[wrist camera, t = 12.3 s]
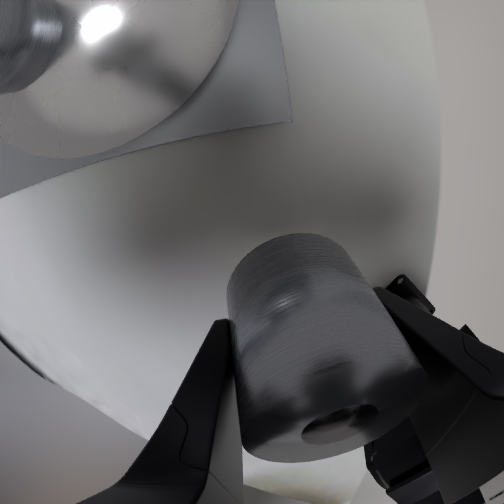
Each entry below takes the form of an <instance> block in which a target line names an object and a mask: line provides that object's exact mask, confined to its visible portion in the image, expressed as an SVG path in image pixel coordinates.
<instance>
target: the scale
mask: <svg viewBox="0 0 504 504" xmlns="http://www.w3.org/2000/svg"><path fill="white" fill-rule="evenodd" d="M290 121H292V113H291V105H290V97H289V90H288V82H287V75H286V68H285V61H284V55H283V48H282V42H281V36H280V29H279V24H278V18H277V12H276V6H275V1H274V0H238V1H237V8H236V13H235V17H234V21H233V26H232V29H231V31H230V34H229V37H228V39H227V42H226V45H225V47H224V49H223V51H222V53H221V55H220V56H219V58H218V60H217V62H216V64H215V65H214V67H213V68H212V70H211V71H210V73H209V74H208V76H207V77H206V79H205V80H204V81H203V82H202V84H201V85H200V86H199V87H198V88H197V90H196V91H195V92H194V93H193V94H192V96H190V97H189V98H188V99H187V100H186V101H185V102H184V103H183V104H182V105H181V106H180V107H179V108H178V109H177V110H176V111H175V112H173V113H172V114H171V115H169V116H168V117H167V118H166V119H164V120H163V121H162V122H161V123H159V124H158V125H156V126H154V127H153V128H151V129H150V130H148V131H147V132H145V133H143V134H142V135H140V136H139V137H137V138H135V139H133V140H131V141H129V142H127V143H125V144H123V145H121V146H118V147H115V148H113V149H110V150H107V151H105V152H102V153H98V154H94V155H90V156H86V157H78V158H69V159H64V158H48V157H42V156H37V155H34V154H31V153H28V152H25V151H23V150H21V149H19V148H17V147H15V146H13V145H11V144H10V143H9V142H7V141H6V140H5V139H3V138H2V137H1V136H0V198H2V197H5V196H7V195H9V194H11V193H14V192H16V191H19V190H21V189H23V188H26V187H28V186H31V185H33V184H36V183H38V182H41V181H44V180H46V179H49V178H51V177H54V176H57V175H60V174H62V173H65V172H68V171H71V170H74V169H77V168H80V167H83V166H86V165H89V164H92V163H95V162H98V161H102V160H105V159H108V158H112V157H115V156H119V155H122V154H126V153H129V152H133V151H137V150H140V149H144V148H148V147H152V146H156V145H160V144H164V143H168V142H173V141H177V140H182V139H186V138H191V137H196V136H201V135H206V134H211V133H216V132H222V131H227V130H233V129H239V128H246V127H252V126H259V125H266V124H274V123H282V122H290Z"/></svg>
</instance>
